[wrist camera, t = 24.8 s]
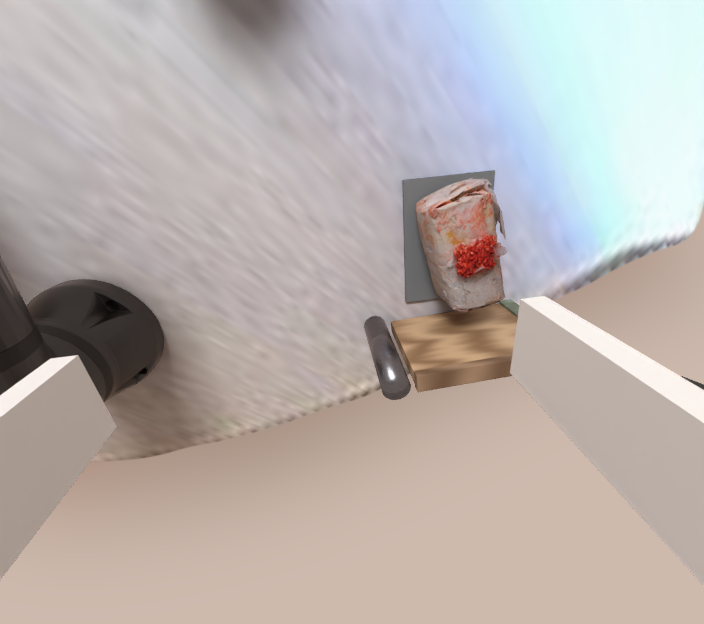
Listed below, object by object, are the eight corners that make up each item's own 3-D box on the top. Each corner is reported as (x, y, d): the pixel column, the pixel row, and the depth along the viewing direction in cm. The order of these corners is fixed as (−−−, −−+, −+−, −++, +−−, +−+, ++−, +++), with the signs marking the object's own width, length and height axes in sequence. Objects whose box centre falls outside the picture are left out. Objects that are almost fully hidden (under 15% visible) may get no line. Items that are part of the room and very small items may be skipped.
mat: (405, 301, 45) (406, 302, 44) (402, 180, 38) (403, 180, 38) (482, 291, 45) (484, 292, 45) (493, 170, 38) (494, 170, 38)
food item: (403, 197, 38) (429, 208, 29) (467, 172, 38) (513, 175, 29) (430, 295, 44) (459, 329, 35) (486, 275, 44) (529, 304, 35)
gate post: (365, 336, 46) (382, 401, 34) (363, 317, 45) (381, 378, 32) (385, 333, 46) (410, 397, 34) (384, 314, 45) (410, 374, 32)
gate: (392, 333, 45) (417, 392, 34) (390, 319, 44) (416, 375, 33) (509, 313, 46) (575, 365, 34) (510, 299, 45) (578, 347, 33)
